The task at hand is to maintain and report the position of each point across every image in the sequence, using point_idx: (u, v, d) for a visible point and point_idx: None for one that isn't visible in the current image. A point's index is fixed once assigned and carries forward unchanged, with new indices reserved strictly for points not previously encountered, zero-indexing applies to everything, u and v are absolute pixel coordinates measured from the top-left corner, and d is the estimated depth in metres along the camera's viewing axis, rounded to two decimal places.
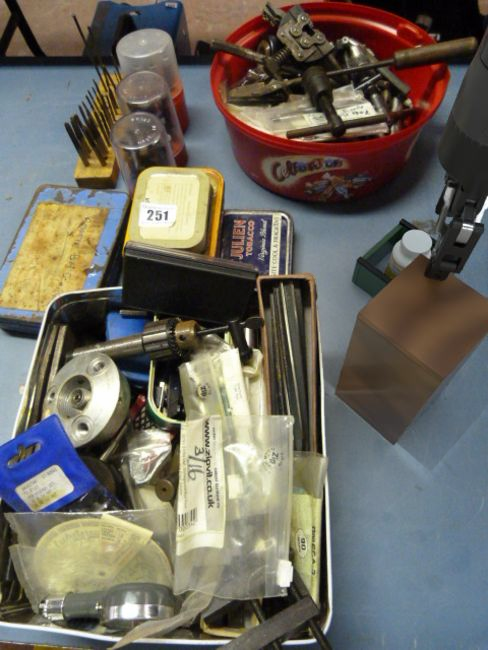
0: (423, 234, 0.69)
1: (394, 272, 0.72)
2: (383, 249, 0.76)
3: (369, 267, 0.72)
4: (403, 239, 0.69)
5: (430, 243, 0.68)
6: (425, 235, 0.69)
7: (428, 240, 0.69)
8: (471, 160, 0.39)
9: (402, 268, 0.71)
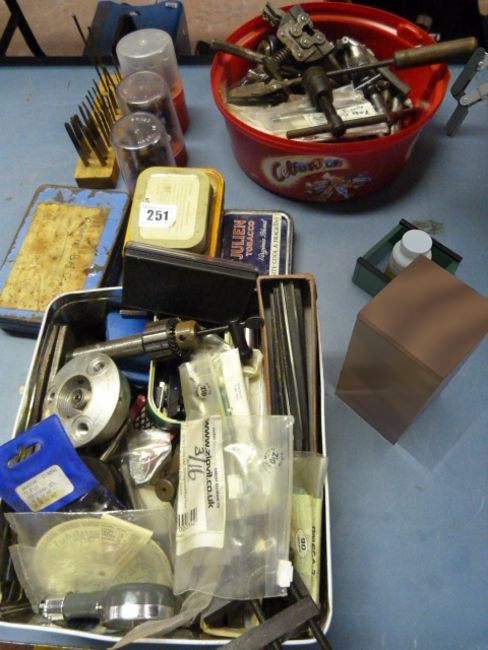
0: (423, 234, 0.69)
1: (394, 272, 0.72)
2: (383, 249, 0.76)
3: (369, 267, 0.72)
4: (403, 239, 0.69)
5: (430, 243, 0.68)
6: (425, 235, 0.69)
7: (428, 240, 0.69)
8: None
9: (402, 268, 0.71)
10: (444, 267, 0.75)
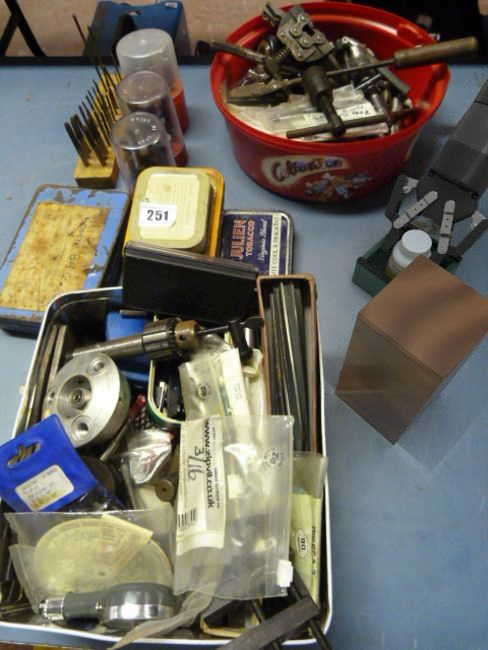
0: (423, 234, 0.69)
1: (394, 272, 0.72)
2: None
3: (369, 267, 0.72)
4: (403, 239, 0.69)
5: (430, 243, 0.68)
6: (424, 235, 0.69)
7: (428, 240, 0.69)
8: None
9: (402, 268, 0.71)
10: (444, 267, 0.75)
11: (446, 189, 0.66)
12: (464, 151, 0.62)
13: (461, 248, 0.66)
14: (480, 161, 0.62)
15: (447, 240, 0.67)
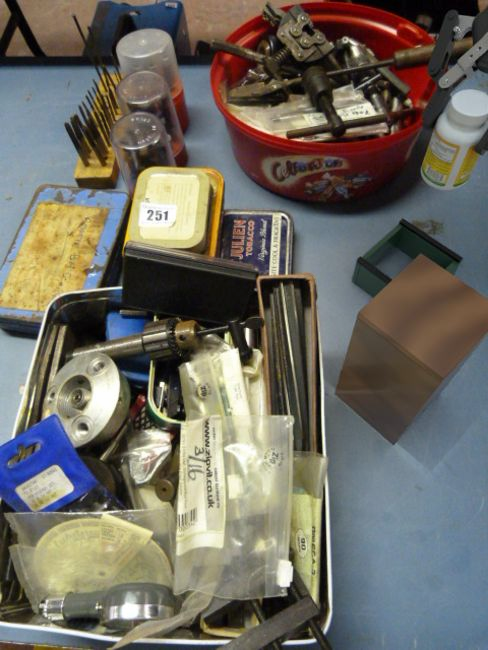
0: (480, 94, 0.50)
1: (438, 155, 0.54)
2: (383, 249, 0.76)
3: (369, 267, 0.72)
4: (453, 101, 0.50)
5: None
6: (483, 96, 0.50)
7: None
8: None
9: (450, 145, 0.52)
10: (444, 267, 0.75)
11: None
12: None
13: None
14: None
15: None
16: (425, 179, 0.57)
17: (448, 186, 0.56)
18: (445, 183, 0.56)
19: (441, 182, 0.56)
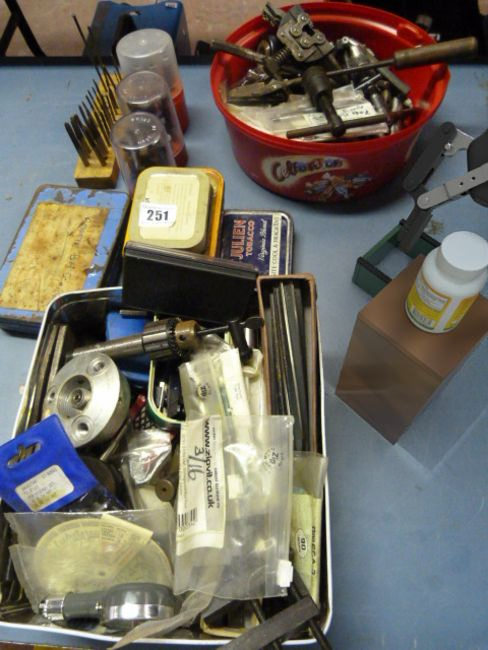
0: (476, 239, 0.41)
1: (425, 301, 0.45)
2: (383, 249, 0.76)
3: (369, 267, 0.72)
4: (443, 247, 0.41)
5: None
6: (479, 241, 0.41)
7: (485, 249, 0.41)
8: None
9: (439, 295, 0.43)
10: None
11: None
12: None
13: None
14: None
15: None
16: (410, 318, 0.48)
17: (437, 330, 0.47)
18: (434, 327, 0.47)
19: (429, 326, 0.47)
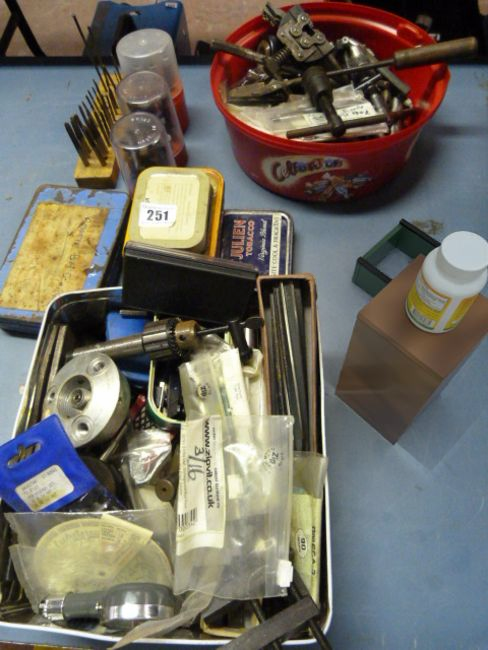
0: (476, 239, 0.41)
1: (425, 301, 0.45)
2: (383, 249, 0.76)
3: (369, 267, 0.72)
4: (443, 247, 0.41)
5: None
6: (479, 241, 0.41)
7: (485, 249, 0.41)
8: None
9: (439, 295, 0.43)
10: None
11: None
12: None
13: None
14: None
15: None
16: (410, 318, 0.48)
17: (437, 330, 0.47)
18: (434, 327, 0.47)
19: (429, 326, 0.47)
